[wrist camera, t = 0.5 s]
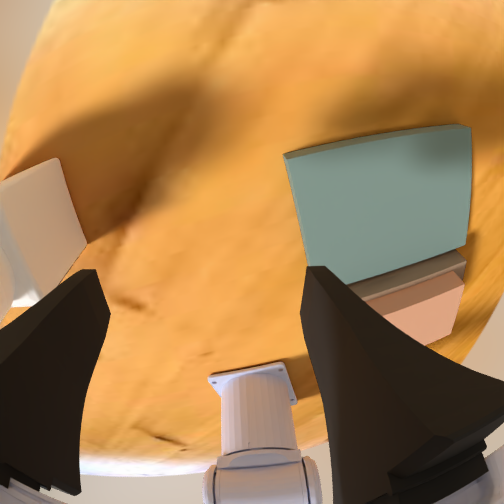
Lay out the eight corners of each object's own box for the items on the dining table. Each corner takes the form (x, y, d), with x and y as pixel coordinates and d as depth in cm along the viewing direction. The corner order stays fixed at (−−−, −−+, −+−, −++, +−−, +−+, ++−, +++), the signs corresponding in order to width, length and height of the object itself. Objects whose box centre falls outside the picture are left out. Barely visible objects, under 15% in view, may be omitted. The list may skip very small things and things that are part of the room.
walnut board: (438, 299, 24) (452, 318, 22) (331, 336, 26) (339, 361, 23) (447, 241, 21) (466, 260, 18) (323, 280, 22) (334, 306, 19)
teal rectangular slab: (455, 236, 21) (465, 244, 19) (310, 281, 22) (315, 293, 21) (458, 123, 15) (470, 127, 14) (282, 154, 17) (286, 159, 15)
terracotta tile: (441, 320, 22) (450, 333, 20) (355, 353, 23) (361, 369, 21) (453, 270, 19) (464, 283, 17) (354, 305, 19) (362, 322, 18)
